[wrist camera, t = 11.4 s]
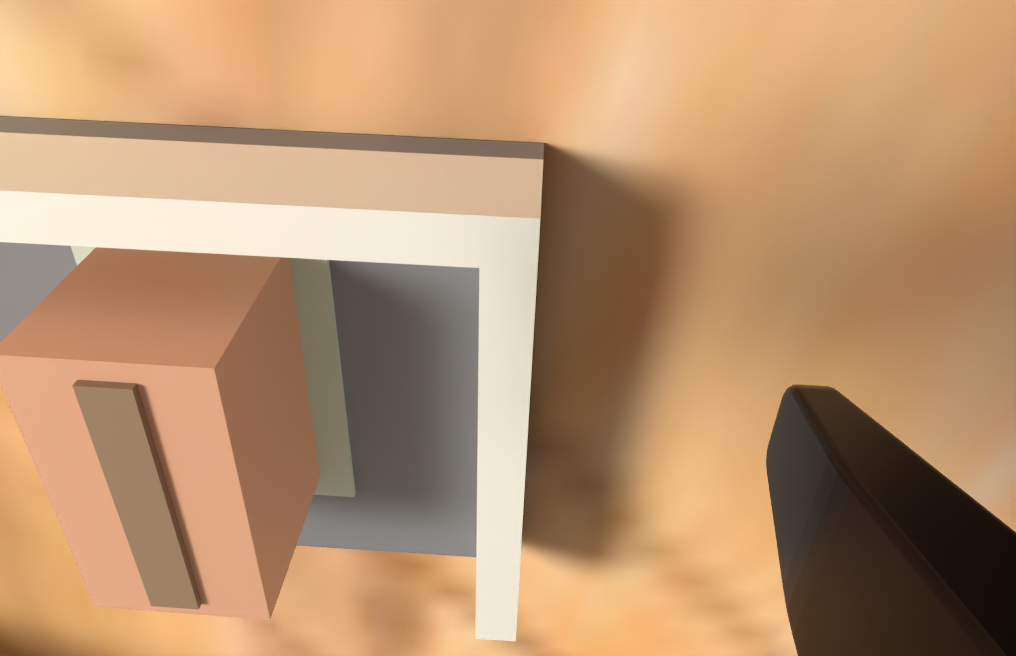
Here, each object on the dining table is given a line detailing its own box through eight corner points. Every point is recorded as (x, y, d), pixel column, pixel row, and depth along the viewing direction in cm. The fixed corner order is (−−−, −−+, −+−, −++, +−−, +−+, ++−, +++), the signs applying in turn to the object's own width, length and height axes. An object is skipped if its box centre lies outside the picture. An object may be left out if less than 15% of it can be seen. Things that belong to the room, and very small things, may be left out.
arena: (544, 142, 19) (540, 219, 16) (521, 536, 27) (515, 641, 24) (-68, 112, 19) (-197, 180, 16) (88, 508, 27) (23, 607, 24)
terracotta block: (320, 476, 24) (267, 626, 20) (174, 467, 24) (90, 614, 20) (287, 245, 19) (210, 374, 15) (108, 235, 20) (-19, 360, 15)
